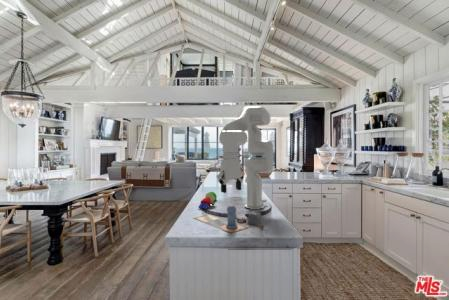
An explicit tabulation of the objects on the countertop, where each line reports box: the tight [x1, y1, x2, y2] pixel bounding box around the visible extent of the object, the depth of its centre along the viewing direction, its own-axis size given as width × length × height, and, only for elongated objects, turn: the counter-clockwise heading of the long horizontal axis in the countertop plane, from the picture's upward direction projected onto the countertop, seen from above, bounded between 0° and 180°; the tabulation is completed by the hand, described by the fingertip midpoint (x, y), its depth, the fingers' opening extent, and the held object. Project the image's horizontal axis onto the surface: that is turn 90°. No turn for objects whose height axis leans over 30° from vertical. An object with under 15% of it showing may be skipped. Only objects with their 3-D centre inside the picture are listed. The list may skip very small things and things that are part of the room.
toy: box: [197, 191, 218, 210], centre depth 176 cm, size 8×8×15 cm
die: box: [247, 211, 262, 225], centre depth 142 cm, size 5×5×5 cm
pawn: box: [226, 204, 238, 229], centre depth 134 cm, size 6×6×11 cm
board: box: [192, 213, 250, 234], centre depth 142 cm, size 12×32×1 cm, turn 40°
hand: (231, 191), depth 134 cm, fingers open, 9 cm apart
